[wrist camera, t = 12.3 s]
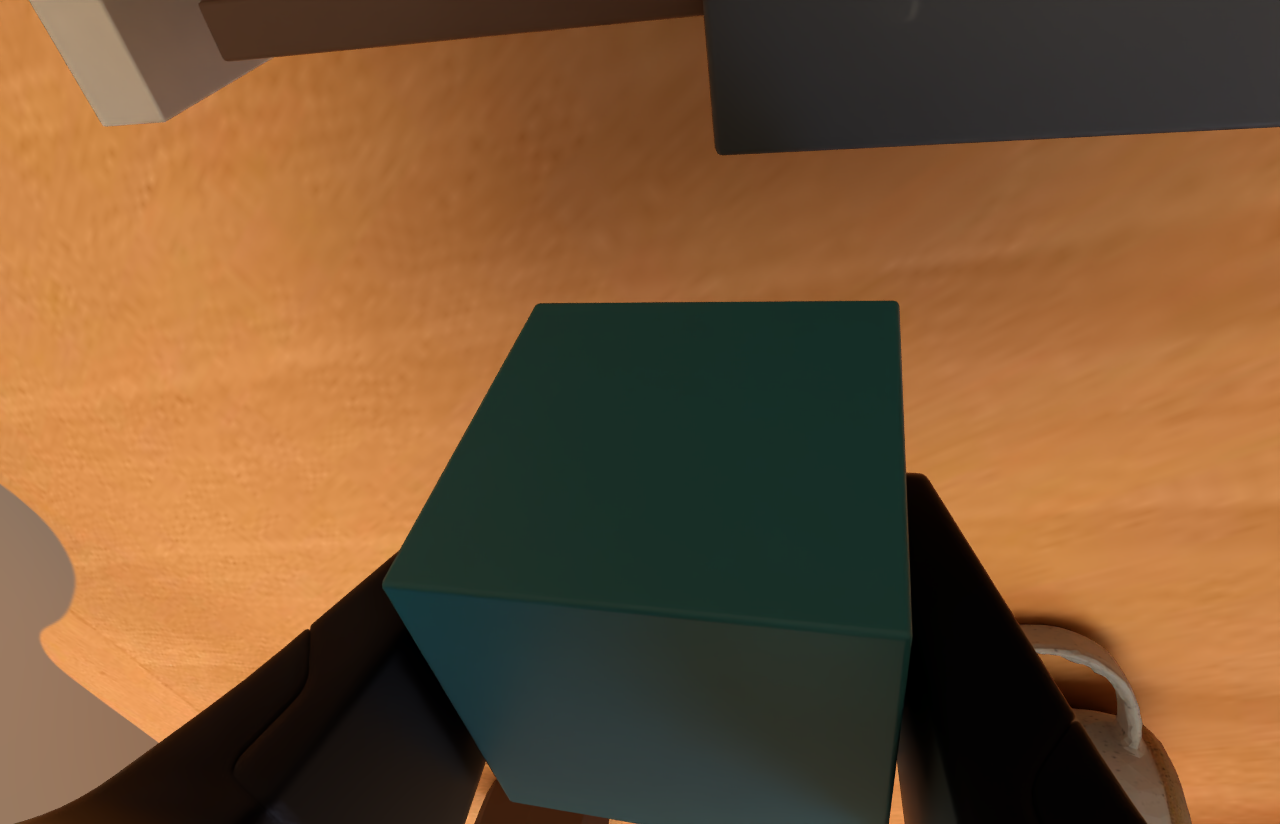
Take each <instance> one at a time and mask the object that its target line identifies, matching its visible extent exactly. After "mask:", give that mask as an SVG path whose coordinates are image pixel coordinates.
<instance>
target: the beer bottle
mask: <svg viewBox="0 0 1280 824" xmlns="http://www.w3.org/2000/svg"><path fill="white" fill-rule="evenodd" d="M474 824H609V819H608V818H602V817H597V816H591V815H585V814H579V813H574V812H568V811H562V810H556V809H550V808H545V807H539V806H533V805H527V804H522V803H516V802H512V801H510V800H509V798H508V797H507V795H506V793H505V792H504V790H503V788H502V787H501V785H500V783H499V782H498V780H497V779H496V780H495V782H494V783H493V785H492V786H491V788H490V789H489V791H488V792H487V794H486V797H485V799H484V801H483V804H482V806H481V809H480V811H479V814H478V816H477V818H476V821H475V823H474Z"/></svg>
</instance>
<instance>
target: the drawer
mask: <svg viewBox="0 0 1280 824" xmlns="http://www.w3.org/2000/svg"><path fill="white" fill-rule="evenodd" d="M29 1H30V3H31V5H32V6H33V8H34V10H35V12H36V13H37V15H38V17H39V18H40V20H41V22H42V23H43V25H44V27H45V29H46V30H47V32H48V34H49V35H50V37H51V39H52V40H53V42H54V44H55V45H56V47H57V49H58V51H59V52H60V54H61V56H62V57H63V59H64V61H65V62H66V64H67V66H68V68H69V69H70V71H71V73H72V74H73V76H74V78H75V79H76V81H77V83H78V85H79V86H80V88H81V90H82V91H83V93H84V95H85V96H86V98H87V100H88V102H89V103H90V105H91V107H92V108H93V110H94V112H95V113H96V115H97V117H98V119H99V120H100V122H101V124H102V125H103V126H119V125H133V124H146V123H159V122H166V121H167V120H169V119H171V118H173V117H174V116H176V115H178V114H179V113H181V112H183V111H184V110H186V109H188V108H189V107H191V106H193V105H194V104H196V103H198V102H199V101H201V100H203V99H205V98H206V97H208V96H210V95H211V94H213V93H215V92H216V91H218V90H220V89H221V88H223V87H225V86H226V85H228V84H230V83H231V82H233V81H235V80H236V79H238V78H240V77H242V76H243V75H245V74H247V73H248V72H250V71H252V70H253V69H255V68H257V67H258V66H260V65H262V64H263V63H265V62H267V61H268V60H270V59H272V58H274V57H282V56H292V55H302V54H313V53H323V52H333V51H343V50H354V49H364V48H374V47H384V46H395V45H405V44H415V43H426V42H436V41H446V40H456V39H467V38H477V37H487V36H498V35H508V34H518V33H528V32H539V31H549V30H559V29H569V28H580V27H590V26H600V25H611V24H621V23H631V22H641V21H652V20H662V19H672V18H683V17H693V16H703V15H704V12H703V0H29Z"/></svg>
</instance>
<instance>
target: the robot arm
mask: <svg viewBox="0 0 1280 824" xmlns="http://www.w3.org/2000/svg"><path fill="white" fill-rule="evenodd" d="M906 485H907V509H908V534H909V559H910V584H911V609H912V634H913V636H912V644H911V652H910V660H909V668H908V676H907V684H906V692H905V699H904V707H903V715H902V723H901V731H900V739H899V747H898V755H897V765H898V773H899V781H900V789H901V798H902V806H903V814H904V822H905V824H1148V823H1147V822H1146V821H1145V819H1144V818H1143V817H1142V815H1141V814H1140V812H1139V811H1138V810H1137V808H1136V807H1135V806H1134V804H1133V803H1132V801H1131V800H1130V798H1129V797H1128V795H1127V794H1126V792H1125V791H1124V789H1123V788H1122V786H1121V785H1120V783H1119V782H1118V780H1117V779H1116V777H1115V776H1114V774H1113V773H1112V771H1111V770H1110V768H1109V767H1108V765H1107V764H1106V762H1105V761H1104V759H1103V758H1102V756H1101V754H1100V753H1099V751H1098V750H1097V748H1096V746H1095V745H1094V743H1093V742H1092V740H1091V738H1090V737H1089V735H1088V734H1087V732H1086V730H1085V729H1084V727H1083V726H1082V724H1081V723H1080V722H1079V721H1074V720H1075V713H1074V712H1073V710H1072V709H1071V707H1070V705H1069V704H1068V702H1067V701H1066V699H1065V697H1064V696H1063V694H1062V693H1061V691H1060V689H1059V688H1058V686H1057V685H1056V683H1055V681H1054V680H1053V678H1052V677H1051V675H1050V673H1049V672H1048V670H1047V668H1046V667H1045V665H1044V664H1043V662H1042V660H1041V659H1040V657H1039V656H1038V654H1037V652H1036V651H1035V649H1034V648H1033V646H1032V644H1031V643H1030V641H1029V640H1028V638H1027V636H1026V635H1025V633H1024V632H1023V630H1022V628H1021V627H1020V625H1019V624H1018V622H1017V620H1016V619H1015V617H1014V616H1013V614H1012V612H1011V611H1010V609H1009V608H1008V606H1007V604H1006V603H1005V601H1004V600H1003V598H1002V596H1001V595H1000V593H999V592H998V590H997V588H996V587H995V585H994V583H993V582H992V580H991V579H990V577H989V575H988V574H987V572H986V571H985V569H984V567H983V566H982V564H981V563H980V561H979V559H978V558H977V556H976V555H975V553H974V551H973V550H972V548H971V547H970V545H969V543H968V542H967V540H966V539H965V537H964V535H963V534H962V532H961V531H960V529H959V527H958V526H957V524H956V523H955V521H954V519H953V518H952V516H951V515H950V513H949V511H948V510H947V508H946V507H945V505H944V503H943V502H942V500H941V499H940V497H939V495H938V494H937V492H936V490H935V489H934V487H933V486H932V484H931V482H930V481H929V479H928V478H927V477H926V476H925V475H923V474H920V473H906ZM398 552H399V551H398ZM398 552H397V553H395V554H394V555H393V556H392V557H391V558H390V559H388V560H387V561H386V562H385V563H384V564H382V565H381V566H380V567H379V568H378V569H377V570H375V571H374V572H373V573H372V574H371V575H369V576H368V577H367V578H366V579H365V580H364V581H362V582H361V583H360V584H359V585H358V586H357V587H355V588H354V589H353V590H352V591H351V592H349V593H348V594H347V595H346V596H345V597H344V598H342V599H341V600H340V601H339V602H338V603H336V604H335V605H334V606H333V607H332V608H331V609H329V610H328V611H327V612H326V613H325V614H323V615H322V616H321V617H320V618H319V619H318V620H316V621H315V622H314V623H313V624H312V625H311V628H310V630H309V629H306V630H304V631H303V632H302V633H301V634H300V635H298V636H297V637H296V638H295V639H294V640H292V641H291V642H290V643H289V644H288V645H287V646H285V647H284V648H283V649H282V650H281V651H279V652H278V653H277V654H276V655H274V656H273V657H272V658H271V659H270V660H268V661H267V662H266V663H265V664H263V665H262V666H261V667H260V668H258V669H257V670H256V671H255V672H254V673H252V674H251V675H250V676H249V677H247V678H246V679H245V680H244V681H242V682H241V683H240V684H238V685H237V686H236V687H234V688H233V689H232V690H230V691H229V692H228V693H226V694H225V695H224V696H222V697H221V698H220V699H218V700H217V701H216V702H214V703H213V704H212V705H210V706H209V707H208V708H206V709H205V710H204V711H202V712H201V713H200V714H198V715H197V716H195V717H194V718H193V719H191V720H190V721H189V722H187V723H186V724H184V725H183V726H182V727H180V728H179V729H178V730H176V731H175V732H173V733H172V734H171V735H169V736H168V737H167V738H165V739H164V740H163V741H161V742H160V743H158V744H157V745H156V746H154V747H153V748H152V749H150V750H149V751H147V752H146V753H145V754H143V755H142V756H141V757H139V758H138V759H136V760H135V761H134V762H132V763H131V764H130V765H128V766H127V767H125V768H124V769H123V770H121V771H120V772H119V773H117V774H116V775H115V776H113V777H112V778H110V779H109V780H107V781H106V782H104V783H103V784H102V785H100V786H98V787H97V788H95V789H94V790H92V791H90V792H89V793H87V794H85V795H84V796H82V797H80V798H78V799H76V800H75V801H72V802H70V803H68V804H66V805H64V806H62V807H61V808H58V809H55V810H53V811H51V812H48V813H46V814H43V815H40V816H37V817H34V818H32V819H28V820H25V821H22V822H19V823H15V824H465V822H466V819H467V816H468V813H469V810H470V807H471V804H472V801H473V798H474V795H475V792H476V789H477V786H478V783H479V780H480V777H481V774H482V771H483V768H484V765H485V762H486V760H485V758H484V757H483V755H482V753H481V752H480V750H479V748H478V747H477V745H476V743H475V742H474V740H473V738H472V737H471V735H470V733H469V732H468V730H467V728H466V727H465V725H464V723H463V721H462V720H461V718H460V716H459V715H458V713H457V711H456V710H455V708H454V706H453V705H452V703H451V701H450V700H449V698H448V696H447V695H446V693H445V691H444V690H443V688H442V686H441V685H440V683H439V681H438V680H437V678H436V676H435V675H434V673H433V671H432V670H431V668H430V666H429V665H428V663H427V661H426V660H425V658H424V656H423V655H422V653H421V651H420V650H419V648H418V646H417V645H416V643H415V641H414V640H413V638H412V636H411V635H410V633H409V631H408V630H407V628H406V626H405V625H404V623H403V621H402V620H401V618H400V616H399V615H398V613H397V611H396V610H395V608H394V606H393V605H392V603H391V601H390V600H389V598H388V596H387V595H386V593H385V591H384V590H383V588H382V583H383V579H384V577H385V576H386V574H387V572H388V570H389V568H390V567H391V565H392V563H393V561H394V559H395V558H396V556H397V554H398Z"/></svg>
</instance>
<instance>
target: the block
mask: <svg viewBox="0 0 1280 824" xmlns="http://www.w3.org/2000/svg"><path fill="white" fill-rule="evenodd" d="M382 588H383V590H384V591H385V593H386V595H387V596H388V598H389V600H390V601H391V603H392V605H393V606H394V608H395V610H396V611H397V613H398V615H399V616H400V618H401V620H402V621H403V623H404V625H405V626H406V628H407V630H408V631H409V633H410V635H411V636H412V638H413V640H414V641H415V643H416V645H417V646H418V648H419V650H420V651H421V653H422V655H423V656H424V658H425V660H426V661H427V663H428V665H429V666H430V668H431V670H432V671H433V673H434V675H435V676H436V678H437V680H438V681H439V683H440V685H441V686H442V688H443V690H444V691H445V693H446V695H447V696H448V698H449V700H450V701H451V703H452V705H453V706H454V708H455V710H456V711H457V713H458V715H459V716H460V718H461V720H462V721H463V723H464V725H465V727H466V728H467V730H468V732H469V733H470V735H471V737H472V738H473V740H474V742H475V743H476V745H477V747H478V748H479V750H480V752H481V753H482V755H483V757H484V758H485V760H486V762H487V763H488V765H489V767H490V768H491V770H492V772H493V773H494V775H495V777H496V778H497V780H498V782H499V783H500V785H501V787H502V788H503V790H504V792H505V793H506V795H507V797H508V798H509V800H510V801H512V802H516V803H522V804H527V805H533V806H539V807H545V808H550V809H556V810H562V811H568V812H574V813H579V814H585V815H591V816H597V817H602V818H608V819H614V820H620V821H625V822H631V823H637V824H889V818H890V810H891V802H892V794H893V786H894V778H895V771H896V763H897V755H898V747H899V739H900V731H901V723H902V715H903V707H904V699H905V692H906V684H907V676H908V668H909V660H910V652H911V644H912V636H913V634H912V609H911V584H910V559H909V534H908V509H907V485H906V460H905V435H904V410H903V385H902V360H901V336H900V311H899V304H898V302H896V301H784V302H652V303H539V304H537V305H535V307H534V309H533V311H532V313H531V314H530V316H529V318H528V320H527V322H526V323H525V325H524V327H523V329H522V331H521V332H520V334H519V336H518V338H517V340H516V341H515V343H514V345H513V347H512V349H511V350H510V352H509V354H508V356H507V358H506V359H505V361H504V363H503V365H502V367H501V368H500V370H499V372H498V374H497V376H496V377H495V379H494V381H493V383H492V385H491V386H490V388H489V390H488V392H487V394H486V395H485V397H484V399H483V401H482V403H481V405H480V406H479V408H478V410H477V412H476V414H475V415H474V417H473V419H472V421H471V423H470V424H469V426H468V428H467V430H466V432H465V433H464V435H463V437H462V439H461V441H460V442H459V444H458V446H457V448H456V450H455V451H454V453H453V455H452V457H451V459H450V460H449V462H448V464H447V466H446V468H445V469H444V471H443V473H442V475H441V477H440V478H439V480H438V482H437V484H436V486H435V487H434V489H433V491H432V493H431V495H430V496H429V498H428V500H427V502H426V504H425V505H424V507H423V509H422V511H421V513H420V514H419V516H418V518H417V520H416V522H415V523H414V525H413V527H412V529H411V531H410V532H409V534H408V536H407V538H406V540H405V541H404V543H403V545H402V547H401V549H400V550H399V552H398V554H397V556H396V558H395V559H394V561H393V563H392V565H391V567H390V568H389V570H388V572H387V574H386V576H385V577H384V579H383V583H382Z"/></svg>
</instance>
